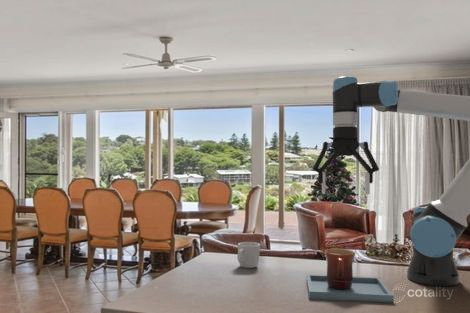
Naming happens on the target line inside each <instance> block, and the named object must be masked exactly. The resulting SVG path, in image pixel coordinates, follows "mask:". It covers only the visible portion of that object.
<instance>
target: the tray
mask: <svg viewBox="0 0 470 313" xmlns="http://www.w3.org/2000/svg"><path fill="white" fill-rule="evenodd" d="M306 286H307V292H308V298H309V300H323V301H325V300H326V301H327V300H328V301H345V302H362V303H363V302H364V303H365V302H367V303H387V304H395V303H394V300H395V299H394V297H395V296H394V294H393V293H392V292H391V290H390V289H389V287H387V285H386V284H385V283H384V281H383V280H382V279H381V278H380V277H373V276H372V277H371V276H370V277H369V276H353V281H352V287H351V288H349V289H346V290H337V289H333V288H331V287H329V286H328V284H327V274H324V275H323V274H306Z"/></svg>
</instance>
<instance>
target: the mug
mask: <svg viewBox="0 0 470 313" xmlns="http://www.w3.org/2000/svg"><path fill="white" fill-rule="evenodd" d="M324 255H325V258H326V275H327V284H328V286H329V287H331V288H333V289H337V290H346V289H349V288H351V287H352V281H353V277H354V276H353V274H354V273H353V271H354V270H353V264H354V259H355V257H356V252H355V251H353V250H350V249H344V248H343V249H342V248H330V249H325V250H324Z"/></svg>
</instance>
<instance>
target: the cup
mask: <svg viewBox="0 0 470 313" xmlns="http://www.w3.org/2000/svg"><path fill="white" fill-rule="evenodd" d="M260 252H261V243H259V242H255V241H242V242H238V243H237V256H236V257H237V262H238V264H239V266H240V267H241V268H245V269H252V268H253V269H254V268H256V267H258V265H259V261H260Z"/></svg>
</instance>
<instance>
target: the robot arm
mask: <svg viewBox="0 0 470 313" xmlns="http://www.w3.org/2000/svg"><path fill="white" fill-rule="evenodd" d="M332 82H333V84H332V85H333V86H332V125H333V128H332V141H331V142H327V141H323V143H322V148H321V151H320V153H319V155H318V157H317V159H316V161H315V163H314V165H313V167H312V171H314V172H317V175H318V183H319V184H321V194H323V195H326V172H325V170H326V169H327V168H328V166H330V164H331V163H332V162H333V161H334V159H335V158H336V157H337V156H339V157H345V156H346V157H351V156H353V157H354V158H355V159H356V160H357V161H358V163H360V165H361V166H362V168H363V169H364V170H365V171H366V172H365V173H364V194H365V195H370V193H371V192H370V185H371V184H373V182H374V177H373V176H374V173H375V172H378V171H379V170H380V168H379V165H378V164H377V162H376V160H375V158H374V156H373V154H372V152H371V151H370V148H369V143H368V141H363V142H359V140H358V127H357V125H358V108H365V107H366V108H367V107H368V108H369V107H371V108H373V109H374V110H376V111H377V112H381V113H386V112H388V113H389V112H391V113H398V114H399V113H400V114H409V115H415V116H417V115H418V116H423V117H432V118H433V117H435V118H440V119H451V120H457V121H459V120H460V121H467V122H470V95H463V94H462V95H461V94H460V95H459V94H451V93H450V94H448V93H441V92H430V91H428V92H427V91H420V90H419V91H418V90H408V89H399V87H398V86H399V85H398V82H397V81H395V80H382V81H370V82H358V79H357V77H355V76H339V77H335V79H333V81H332ZM330 147H331V148H332V149H333V152H332V153H331V155H330V156H329V157H328V158H327V160H325V162H324V163H323V164H322V165H321V166H320V164H321V163H322V161H323V158H324V156H326V152H327V150H330ZM359 147H360V148H361V149H362V150H363V152H364V154H365V157H366V158H367V160H368V162H369V164H370V165H369V164H368V163H367V162H366V160H365V159H364V158H363V157H362V156H361V155H360V153H359V151H357V150H358V148H359ZM469 215H470V157H469V158H468V159H467V161H466V162H465V164H464V165H463V166H462V167H461V169H460V170H459V172H458V173H457V174H456V176H455V177H454V178H453V180H452V181H451V182H450V184H448V186H447V188H446V189H445V191H444V192H443V193H442V195H441V196H440V198H439V199H437V200H433V201H432V200H431V201H429V203H428V204H427V205H426V206H417V207H414V209H413V214H412V217H413V224H412V225H411V226H410V231H409V237H410V241H411V243H412V246H413V247H412V248H413V249H412V251H413V252H412V256H411V259H410V262H409V264H408V268H407V271H406V278H407V279H408V280H410V281H411V282H413V283H414V282H415V283H417V284H418V283H419V284H422V285H423V284H424V285H428V286H433V287H435V286H437V287H453V286H457V285H459V284H460V274H459V272H458V268H457V265H456V262H455V260H454V248H455V246H456V244H457V243H456V242H457V240H458V239H459V238H460V237H461V235H462V234H463V232H465V230H466V229H467V227H468V222H467V217H469Z"/></svg>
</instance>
